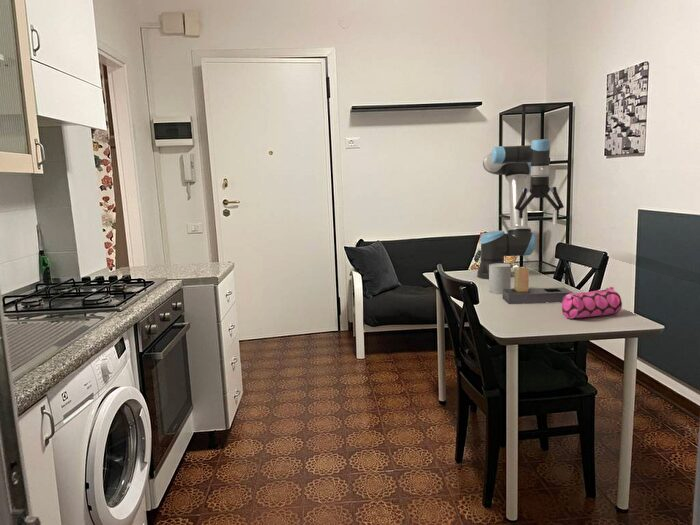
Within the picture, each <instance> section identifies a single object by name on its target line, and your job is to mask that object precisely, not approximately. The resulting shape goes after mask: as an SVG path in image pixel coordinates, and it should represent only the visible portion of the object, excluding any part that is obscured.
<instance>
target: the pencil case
mask: <svg viewBox="0 0 700 525" xmlns="http://www.w3.org/2000/svg"><path fill="white" fill-rule="evenodd" d="M614 288H615V287H614V286H609V287H606V288H601V289H597V290H593V291H585V292H576V293H575V292H573V293H570V294H567V295H566V296H565V297H564V298H563V301H562V302H561V312H562V315H563V316H564V317H565V318H566V319H569V320H572V319H582V318H591V317H599V316H609V315H614V314H618V313H619V312H621V310H622V308H623V302H622V298H621V295H620V294H619V293H618V292H617V291H615V289H614Z"/></svg>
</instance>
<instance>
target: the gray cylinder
mask: <svg viewBox="0 0 700 525" xmlns="http://www.w3.org/2000/svg"><path fill="white" fill-rule="evenodd" d="M511 268H512V265H511V264H510V263H505V262H504V263H495V264H490V265H489V279H488V292H489V293H490V294H493V293H494V295H495V294H496V295H503V289H512V288H511V283H512V282H511V280H512V279H511V278H512V275H511V274H512V270H511Z"/></svg>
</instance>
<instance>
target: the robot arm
mask: <svg viewBox="0 0 700 525" xmlns="http://www.w3.org/2000/svg"><path fill="white" fill-rule="evenodd" d="M550 152H551V143H550V139H548V138H547V139H545V138H544V139H543V138H542V139H540V138H539V139H533V140H531V144H529V145H528V144H527V145H511V146H510V145H509V146H507V145H506V146H505V145H504V146H503V145H502V146H501V145H500V146H494V147H493V148H492V149H491V152H489V154H487V155H485V157H483V160H482V167H483V169H484V170H485V171H486V172H488V173H490V174H491V175H492V174H493V175H496V176H499V175H500V176H504V177H505V180H507V181H508V200H509V203H508V204H509V222H510V227H509V228H508V229H507V233H505V231H504V230H492V231H487V232H484V233H482V234H481V236H480V262H479V265H478V269H477V273H476V276H477V277H478V278H481V279H487V280H489V265H490V264H495V263H504V264H505V257H518V256H520V257H525V256H531V255H532V254H533V253H534V251H535V247H536V234H535V233H534V232H533V231H532V228H531V227H530V226H529V225H528V224H529V222H528V205H529V204H530V203H531V202H532V200H533V199H534V198H535V199H540V198H541V199H544V198H545V199H546V201H548V203H549V204H550V205H551V206H552V207H553V209H552V225H553V226H557V220H558V218H559V217H560V210H561V209H563V208H564V204H563V202H562V200H561V198H560V196H559V194H558V191H557V187H556V186H552V187H550V176H549V175H550V157H551V156H550V155H551V153H550ZM529 176H531V177H530V183H529V184H530V186H529V188H527V179H528V178H529ZM549 192H550V193H552V196H553V198H554V199H555V201H556V202H555V201H554V200H553V198H552V197H551V196H550V194H549ZM529 193H530V194H529ZM528 194H529V196H528ZM527 196H528V197H527Z"/></svg>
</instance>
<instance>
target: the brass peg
mask: <svg viewBox="0 0 700 525" xmlns="http://www.w3.org/2000/svg"><path fill="white" fill-rule="evenodd" d="M529 271H530V268H528V267H527V266H514V285H513V286H514V288H513V289H514V292H515V293H528V289H529V285H530V284H529V281H530V280H529V277H530V276H529V275H530V272H529Z"/></svg>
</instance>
